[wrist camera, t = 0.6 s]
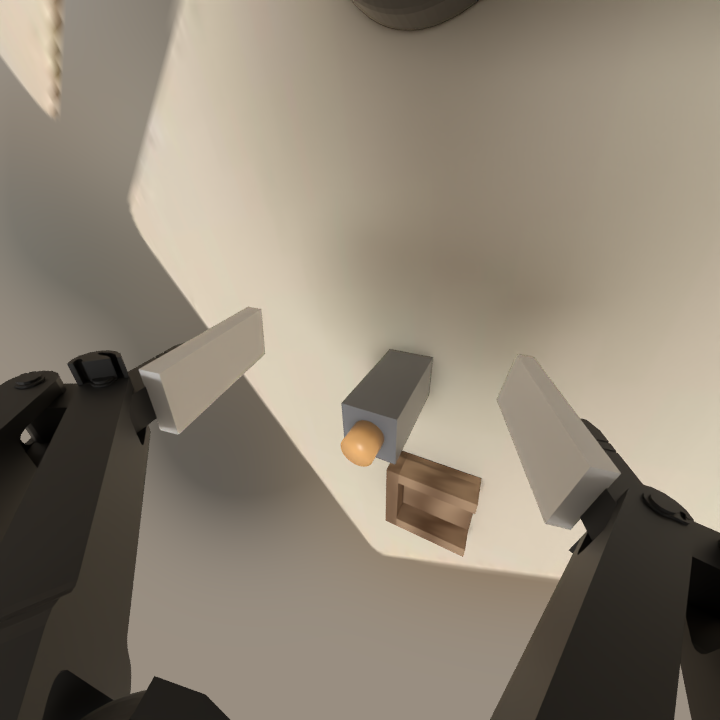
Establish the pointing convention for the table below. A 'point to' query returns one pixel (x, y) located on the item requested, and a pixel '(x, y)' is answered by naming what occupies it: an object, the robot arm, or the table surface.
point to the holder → (431, 500)
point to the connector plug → (385, 407)
